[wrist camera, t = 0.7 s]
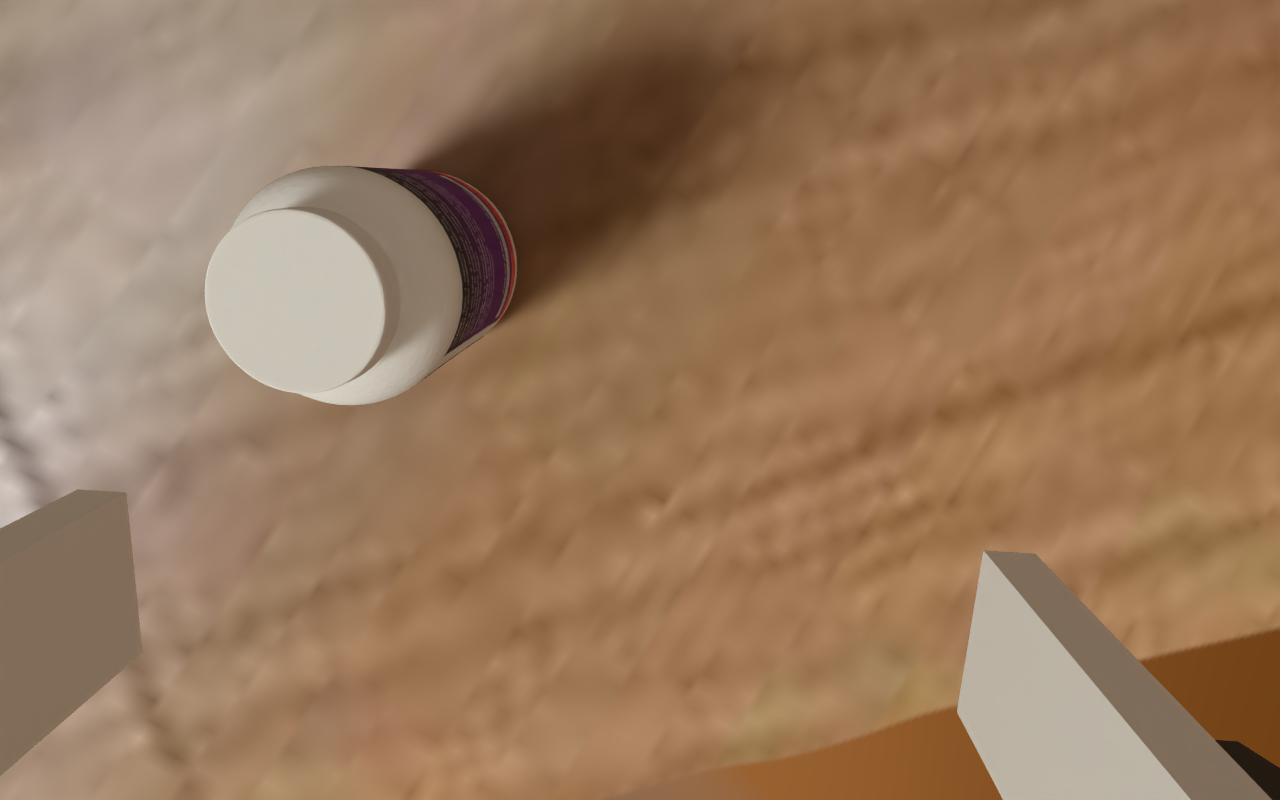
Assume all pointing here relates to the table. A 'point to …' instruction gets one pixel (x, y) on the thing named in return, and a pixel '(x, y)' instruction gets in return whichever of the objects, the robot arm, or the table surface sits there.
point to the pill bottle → (358, 280)
